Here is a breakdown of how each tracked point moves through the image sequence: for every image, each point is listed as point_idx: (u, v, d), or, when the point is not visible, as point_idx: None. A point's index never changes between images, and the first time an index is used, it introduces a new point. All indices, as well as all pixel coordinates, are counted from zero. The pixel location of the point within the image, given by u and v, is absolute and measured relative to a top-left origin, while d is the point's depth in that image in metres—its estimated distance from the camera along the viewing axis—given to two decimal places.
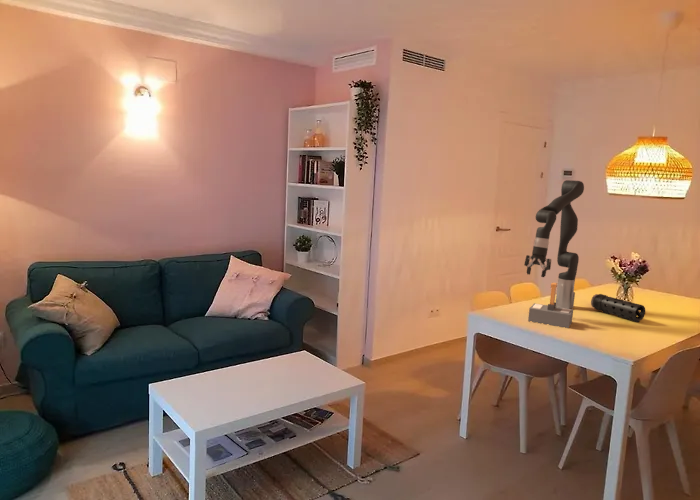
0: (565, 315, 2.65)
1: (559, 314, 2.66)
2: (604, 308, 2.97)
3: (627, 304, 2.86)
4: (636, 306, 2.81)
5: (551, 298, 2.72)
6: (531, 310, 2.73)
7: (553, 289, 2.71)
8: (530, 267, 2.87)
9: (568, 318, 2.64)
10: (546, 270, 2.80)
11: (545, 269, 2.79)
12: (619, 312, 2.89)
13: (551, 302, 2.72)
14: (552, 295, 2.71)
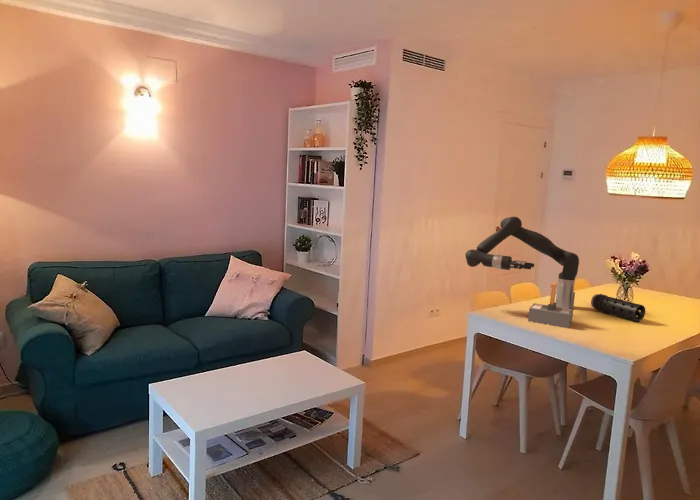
0: (565, 315, 2.65)
1: (559, 314, 2.66)
2: (604, 308, 2.97)
3: (627, 304, 2.86)
4: (636, 306, 2.81)
5: (551, 298, 2.72)
6: (531, 310, 2.73)
7: (553, 289, 2.71)
8: (526, 263, 2.82)
9: (568, 318, 2.64)
10: (523, 265, 2.74)
11: (522, 267, 2.75)
12: (619, 312, 2.89)
13: (551, 302, 2.72)
14: (552, 295, 2.71)
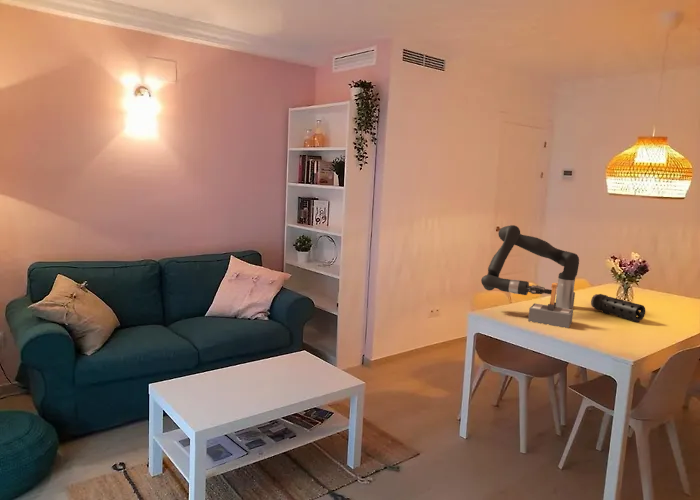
0: (565, 315, 2.65)
1: (559, 314, 2.66)
2: (604, 308, 2.97)
3: (627, 304, 2.86)
4: (636, 306, 2.81)
5: (551, 298, 2.72)
6: (531, 310, 2.73)
7: (554, 289, 2.71)
8: None
9: (568, 318, 2.64)
10: (544, 290, 2.74)
11: (542, 292, 2.75)
12: (619, 312, 2.89)
13: (551, 302, 2.72)
14: (552, 295, 2.71)
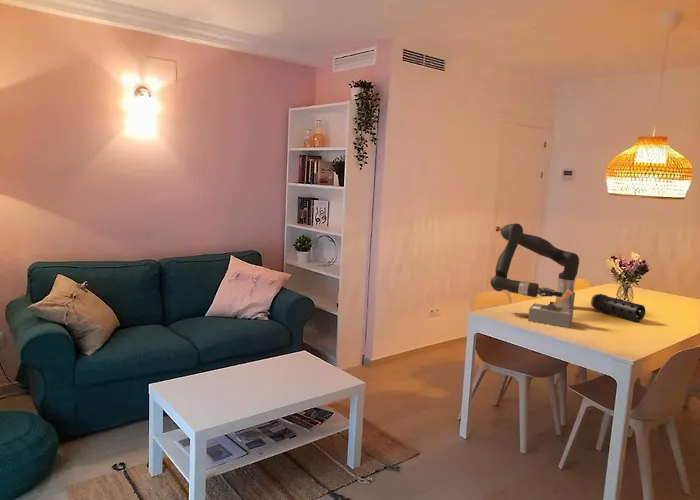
0: (565, 315, 2.65)
1: (559, 314, 2.66)
2: (604, 308, 2.97)
3: (627, 304, 2.86)
4: (636, 306, 2.81)
5: (557, 301, 2.70)
6: (531, 310, 2.73)
7: (565, 296, 2.68)
8: None
9: (568, 318, 2.64)
10: (554, 293, 2.72)
11: None
12: (619, 312, 2.89)
13: (554, 304, 2.71)
14: (560, 299, 2.70)
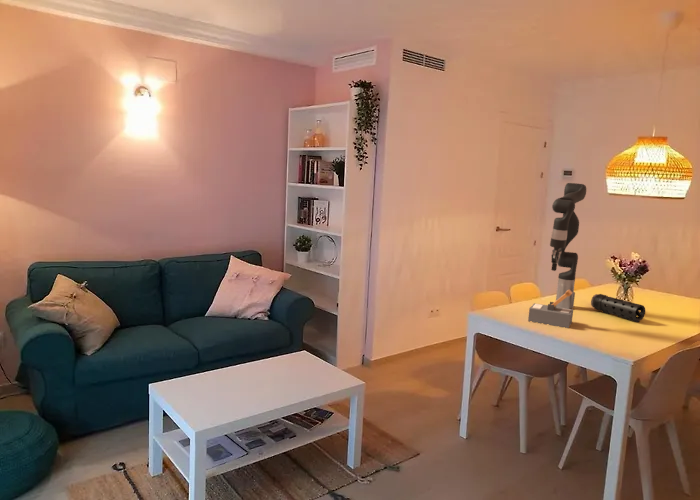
0: (565, 315, 2.65)
1: (559, 314, 2.66)
2: (604, 308, 2.97)
3: (627, 304, 2.86)
4: (636, 306, 2.81)
5: (557, 301, 2.70)
6: (531, 310, 2.73)
7: (565, 296, 2.68)
8: None
9: (568, 318, 2.64)
10: (555, 263, 2.70)
11: None
12: (619, 312, 2.89)
13: (554, 304, 2.71)
14: (560, 299, 2.70)
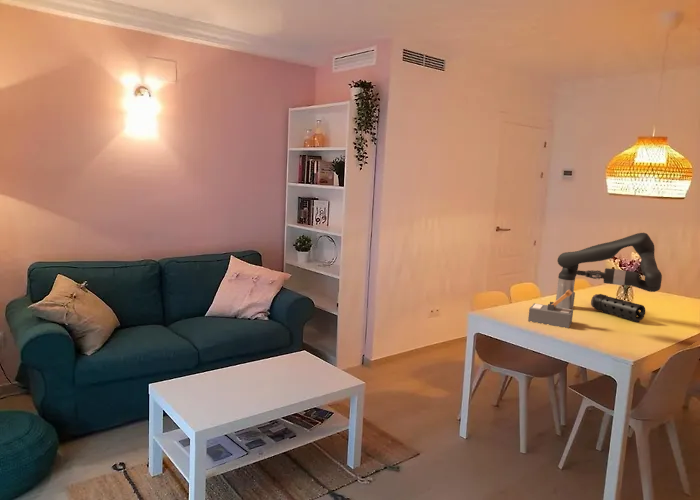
0: (565, 315, 2.65)
1: (559, 314, 2.66)
2: (604, 308, 2.97)
3: (627, 304, 2.86)
4: (636, 306, 2.81)
5: (557, 301, 2.70)
6: (531, 310, 2.73)
7: (565, 296, 2.68)
8: None
9: (568, 318, 2.64)
10: (585, 274, 2.63)
11: None
12: (619, 312, 2.89)
13: (554, 304, 2.71)
14: (560, 299, 2.70)
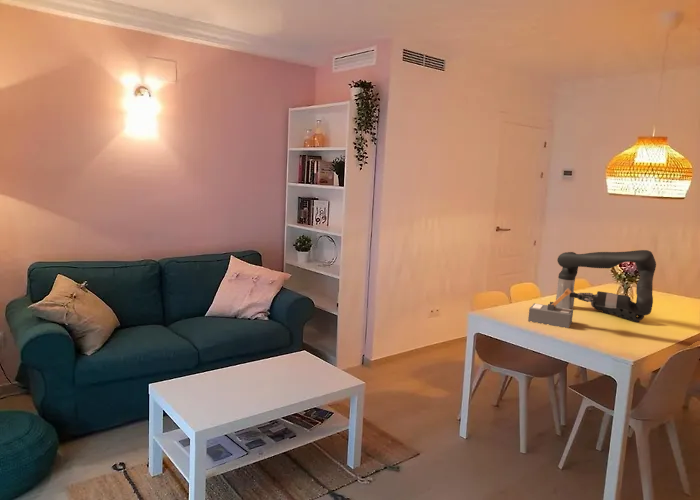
0: (565, 315, 2.65)
1: (559, 314, 2.66)
2: (604, 308, 2.97)
3: None
4: None
5: (557, 301, 2.71)
6: (531, 310, 2.73)
7: (565, 295, 2.68)
8: None
9: (568, 318, 2.64)
10: (577, 297, 2.66)
11: (578, 295, 2.66)
12: (619, 312, 2.89)
13: (554, 304, 2.71)
14: (560, 299, 2.70)
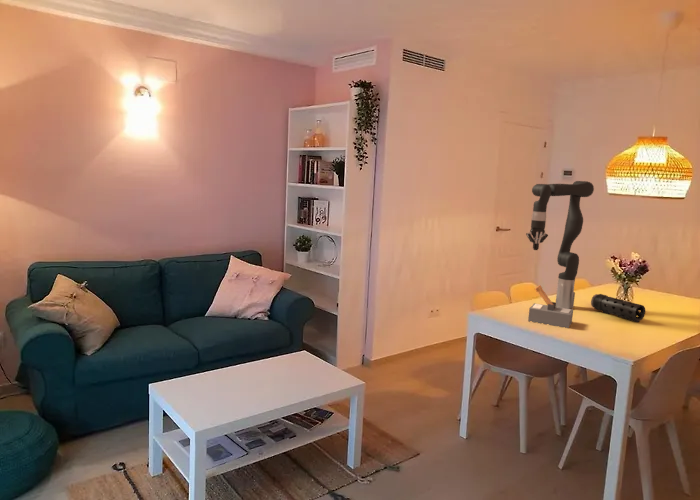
0: (565, 315, 2.65)
1: (559, 314, 2.66)
2: (604, 308, 2.97)
3: (627, 304, 2.86)
4: (636, 306, 2.81)
5: (545, 300, 2.74)
6: (531, 310, 2.73)
7: (540, 291, 2.74)
8: None
9: (568, 318, 2.64)
10: (534, 243, 2.93)
11: None
12: (619, 312, 2.89)
13: (547, 303, 2.73)
14: (543, 297, 2.74)
